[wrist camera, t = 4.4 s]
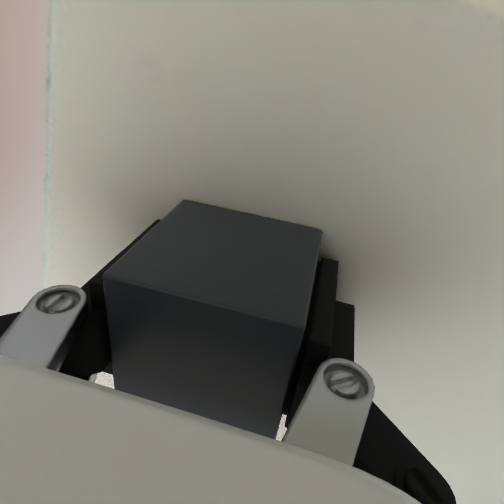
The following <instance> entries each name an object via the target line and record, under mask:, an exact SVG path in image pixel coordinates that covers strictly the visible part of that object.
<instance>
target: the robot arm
mask: <svg viewBox="0 0 504 504" xmlns="http://www.w3.org/2000/svg"><path fill="white" fill-rule="evenodd" d="M160 221H161V220H160V219H158V220H156V221H155V222H154V223H153V224H152V225H151V226H150V227H148V228H147V229H146V230H145V231H144V232H143V233H142V234H141V235H140V236H138V237H137V238H136V239H135V240H134V241H133V242H132V243H131V244H130V245H129V246H127V247H126V248H125V249H124V250H123V251H121V252H120V253H119V254H118V255H117V256H116V257H115V258H114V259H112V260H111V261H110V262H109V263H108V264H107V265H106V266H105V267H104V268H102V269H101V270H100V271H99V272H98V273H97V274H96V275H95V276H94V277H92V278H91V279H90V280H89V281H88V282H87V283H86V284H85V285H84V286H82V287H81V288H79V287H77V286H72V285H57V286H52V287H49V288H46V289H44V290H42V291H40V292H38V293H37V294H36V295H35V296H34V297H33V298H32V299H31V300H30V301H29V302H28V304H27V305H26V306H25V307H24V309H23V310H22V311H21V312H17V313H13V314H7V315H3V316H0V504H456V500H455V496H454V494H453V492H452V490H451V488H450V486H449V484H448V483H447V482H446V480H445V479H444V478H443V476H442V475H441V474H440V473H439V472H438V471H437V470H436V469H435V468H434V467H433V465H432V464H431V463H430V462H429V461H428V460H427V459H426V458H425V457H424V456H423V455H422V454H421V453H420V452H419V451H418V449H417V448H416V447H415V446H414V445H413V444H412V443H411V442H410V441H409V440H408V439H407V438H406V437H405V436H404V435H403V433H402V432H401V431H400V430H399V429H398V428H397V427H396V426H395V425H394V424H393V423H392V422H391V421H390V420H389V419H388V417H387V416H386V415H385V414H384V413H383V412H382V411H381V410H380V409H379V408H378V407H377V406H376V405H375V404H374V403H373V401H372V399H373V396H374V389H375V386H374V383H373V380H372V378H371V377H370V375H369V374H368V372H367V371H366V370H364V369H363V368H362V367H361V366H360V365H358V364H356V363H355V362H354V317H355V308H354V305H352V304H348V303H343V302H339V301H335V299H336V288H337V276H338V265H339V261H336V260H332V259H328V258H323V257H322V260H321V261H317V266H316V272H315V277H314V283H313V288H312V294H311V299H310V305H309V310H308V316H307V321H306V327H305V331H304V335H303V338H302V342H301V346H300V349H299V353H298V357H297V361H296V364H295V368H294V372H293V376H292V379H291V383H290V387H289V391H288V394H287V398H286V402H285V406H284V409H283V413H282V414H285V415H287V417H286V422H285V427H287V431H286V433H285V435H284V437H283V439H282V441H278V440H275V439H272V438H269V437H265V436H262V435H259V434H256V433H253V432H250V431H246V430H243V429H240V428H237V427H234V426H231V425H227V424H224V423H221V422H218V421H215V420H212V419H208V418H205V417H202V416H199V415H196V414H193V413H189V412H186V411H183V410H180V409H177V408H173V407H170V406H167V405H164V404H161V403H157V402H154V401H151V400H148V399H144V398H141V397H138V396H135V395H132V394H128V393H125V392H122V391H119V390H115V389H112V388H109V387H106V386H102V385H99V384H96V383H95V380H96V377H97V373H99V372H102V371H103V372H106V373H109V374H112V375H113V368H112V359H111V350H110V341H109V332H108V323H107V314H106V305H105V296H104V286H103V277H102V276H103V274H104V272H105V271H107V270H108V269H109V268H110V267H111V266H112V265H113V264H114V263H115V262H116V261H117V260H118V259H120V258H121V257H122V256H123V255H124V254H125V253H126V252H127V251H128V250H129V249H130V248H131V247H133V246H134V245H135V244H136V243H137V242H138V241H139V240H140V239H141V238H142V237H143V236H144V235H146V234H147V233H148V232H149V231H150V230H151V229H152V228H153V227H154V226H155V225H156V224H157V223H159V222H160Z"/></svg>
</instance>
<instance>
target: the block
mask: <svg viewBox="0 0 504 504" xmlns="http://www.w3.org/2000/svg"><path fill="white" fill-rule="evenodd" d="M322 233H323V232H322V230H319V229H315V228H310V227H306V226H301V225H297V224H292V223H288V222H283V221H279V220H274V219H270V218H265V217H261V216H256V215H252V214H247V213H243V212H238V211H234V210H229V209H225V208H220V207H216V206H211V205H207V204H202V203H198V202H193V201H189V200H182V201H181V202H180V203H179V204H178V205H177V206H176V207H175V208H174V209H173V210H172V211H171V212H169V213H168V214H167V215H166V216H165V217H164V218H163V219H162V220H161V221H160V222H159V223H157V224H156V225H155V226H154V227H153V228H152V229H151V230H150V231H149V232H148V233H147V234H146V235H144V236H143V237H142V238H141V239H140V240H139V241H138V242H137V243H136V244H135V245H134V246H133V247H131V248H130V249H129V250H128V251H127V252H126V253H125V254H124V255H123V256H122V257H121V258H120V259H118V260H117V261H116V262H115V263H114V264H113V265H112V266H111V267H110V268H109V269H108V270H107V271H105V272H104V274H103V276H102V277H103V286H104V296H105V305H106V314H107V323H108V332H109V341H110V350H111V359H112V368H113V378H114V387H115V390H119V391H122V392H125V393H128V394H132V395H135V396H138V397H141V398H144V399H148V400H151V401H154V402H157V403H161V404H164V405H167V406H170V407H173V408H177V409H180V410H183V411H186V412H189V413H193V414H196V415H199V416H202V417H205V418H208V419H212V420H215V421H218V422H221V423H224V424H227V425H231V426H234V427H237V428H240V429H243V430H246V431H250V432H253V433H256V434H259V435H262V436H265V437H269V438H272V439H276V436H277V432H278V428H279V424H280V421H281V417H282V413H283V409H284V406H285V402H286V398H287V394H288V391H289V387H290V383H291V379H292V376H293V372H294V368H295V364H296V361H297V357H298V353H299V349H300V346H301V342H302V338H303V335H304V331H305V327H306V321H307V316H308V310H309V305H310V299H311V294H312V288H313V283H314V277H315V272H316V266H317V261H318V255H319V250H320V244H321V239H322Z"/></svg>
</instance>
